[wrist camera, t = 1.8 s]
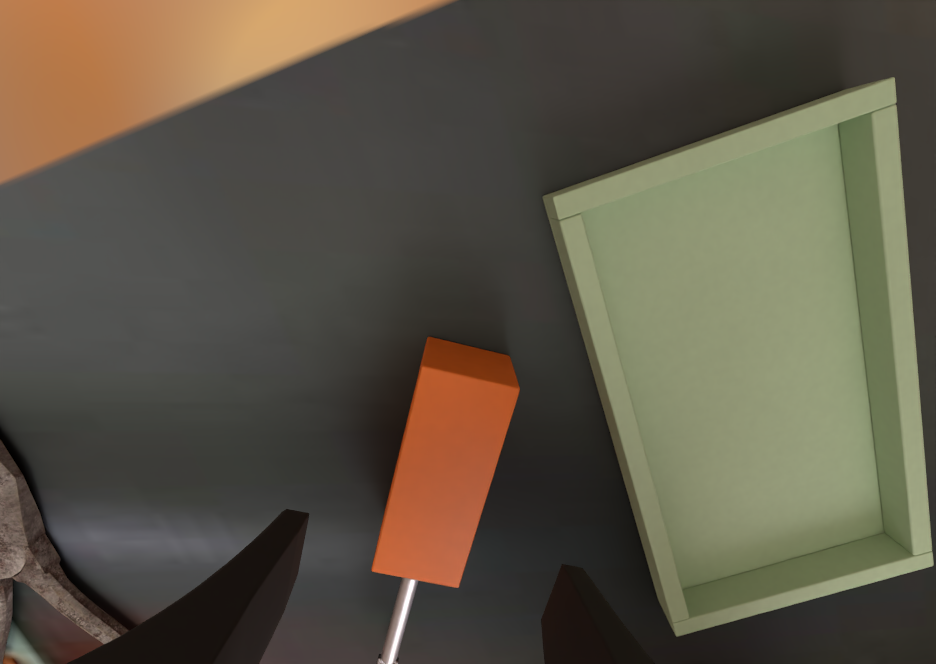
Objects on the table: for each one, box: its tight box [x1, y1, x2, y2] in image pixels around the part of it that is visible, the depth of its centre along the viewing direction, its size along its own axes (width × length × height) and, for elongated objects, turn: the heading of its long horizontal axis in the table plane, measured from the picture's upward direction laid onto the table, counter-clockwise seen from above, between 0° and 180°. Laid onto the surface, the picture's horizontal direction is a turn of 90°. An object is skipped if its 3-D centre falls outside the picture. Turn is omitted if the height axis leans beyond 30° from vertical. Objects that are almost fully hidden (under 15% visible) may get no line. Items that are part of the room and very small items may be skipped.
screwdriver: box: [372, 337, 520, 664], centre depth 20 cm, size 15×3×3 cm, turn 166°
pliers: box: [0, 440, 129, 664], centre depth 22 cm, size 10×1×20 cm
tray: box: [543, 77, 934, 636], centre depth 19 cm, size 20×11×2 cm, turn 19°
